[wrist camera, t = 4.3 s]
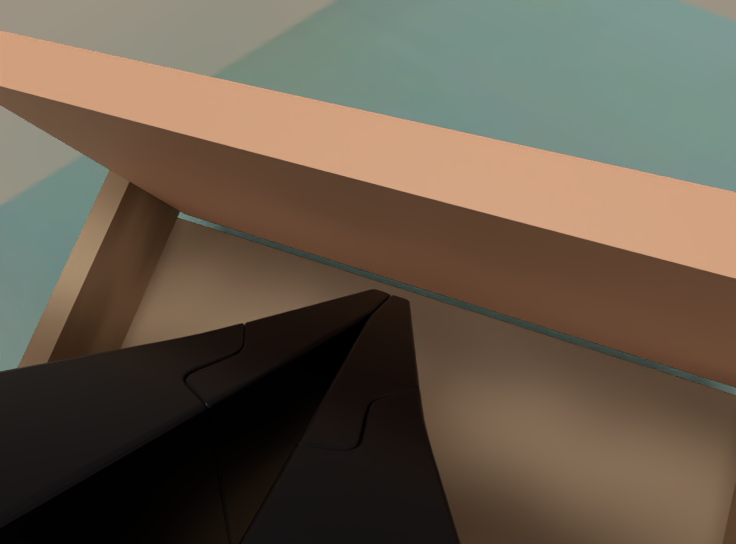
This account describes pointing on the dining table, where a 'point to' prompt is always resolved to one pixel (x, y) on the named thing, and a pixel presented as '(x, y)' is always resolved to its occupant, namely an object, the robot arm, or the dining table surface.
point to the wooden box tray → (431, 384)
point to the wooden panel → (408, 200)
